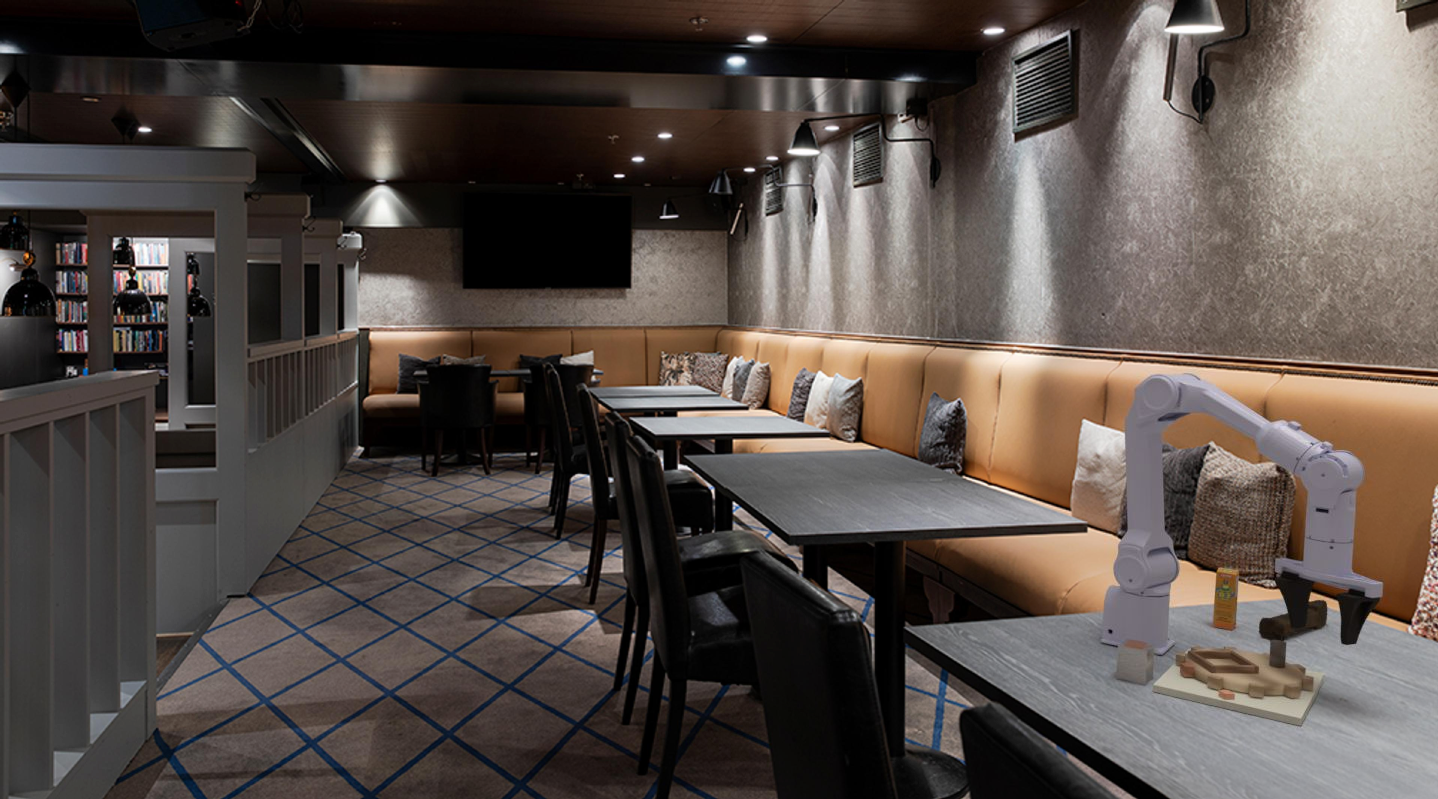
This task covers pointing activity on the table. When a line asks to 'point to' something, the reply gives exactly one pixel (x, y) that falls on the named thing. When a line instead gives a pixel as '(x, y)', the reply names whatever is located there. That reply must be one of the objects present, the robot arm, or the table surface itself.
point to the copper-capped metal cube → (1135, 661)
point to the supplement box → (1225, 598)
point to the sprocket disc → (1246, 670)
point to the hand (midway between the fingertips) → (1322, 635)
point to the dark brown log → (1281, 624)
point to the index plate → (1240, 696)
